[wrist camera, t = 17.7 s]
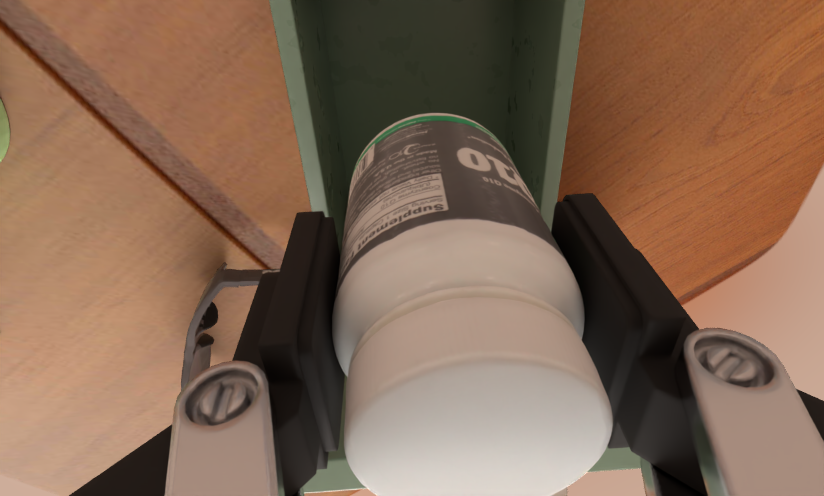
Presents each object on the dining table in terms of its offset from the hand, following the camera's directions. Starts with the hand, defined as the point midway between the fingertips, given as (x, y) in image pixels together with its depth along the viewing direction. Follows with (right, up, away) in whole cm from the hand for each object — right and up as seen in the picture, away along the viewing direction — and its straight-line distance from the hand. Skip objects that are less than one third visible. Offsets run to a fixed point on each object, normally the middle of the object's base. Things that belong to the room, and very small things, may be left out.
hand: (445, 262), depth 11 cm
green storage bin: (0, +10, +17) cm, 20 cm away
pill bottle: (0, +2, +3) cm, 4 cm away
